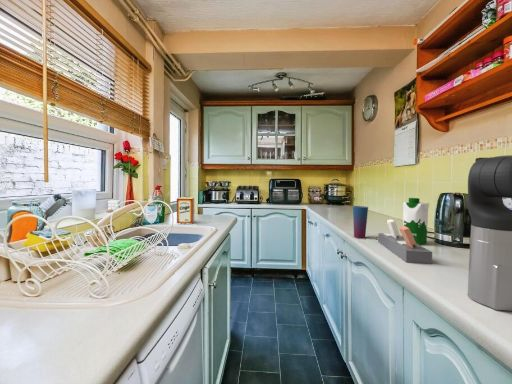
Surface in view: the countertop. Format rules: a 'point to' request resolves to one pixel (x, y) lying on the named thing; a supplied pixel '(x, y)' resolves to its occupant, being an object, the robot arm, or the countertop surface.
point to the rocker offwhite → (393, 228)
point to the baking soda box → (185, 210)
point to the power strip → (405, 249)
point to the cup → (360, 221)
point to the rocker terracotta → (408, 236)
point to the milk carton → (416, 219)
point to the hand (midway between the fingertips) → (477, 161)
